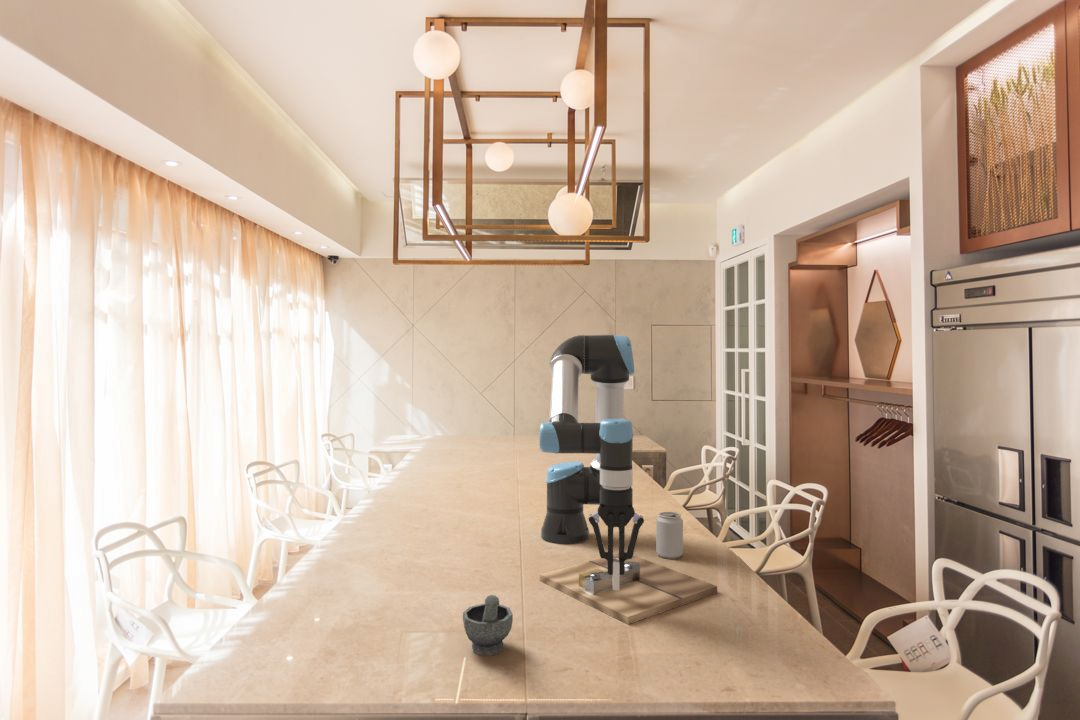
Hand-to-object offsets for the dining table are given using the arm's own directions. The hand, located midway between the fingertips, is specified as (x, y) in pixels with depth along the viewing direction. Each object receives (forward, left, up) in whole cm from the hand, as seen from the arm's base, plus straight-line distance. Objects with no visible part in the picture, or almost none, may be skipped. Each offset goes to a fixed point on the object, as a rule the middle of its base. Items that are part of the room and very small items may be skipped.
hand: (615, 588), depth 143 cm
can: (-17, +37, -4) cm, 41 cm away
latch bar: (-6, +5, -2) cm, 8 cm away
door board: (-7, +10, -4) cm, 12 cm away
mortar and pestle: (+1, -35, -4) cm, 36 cm away
